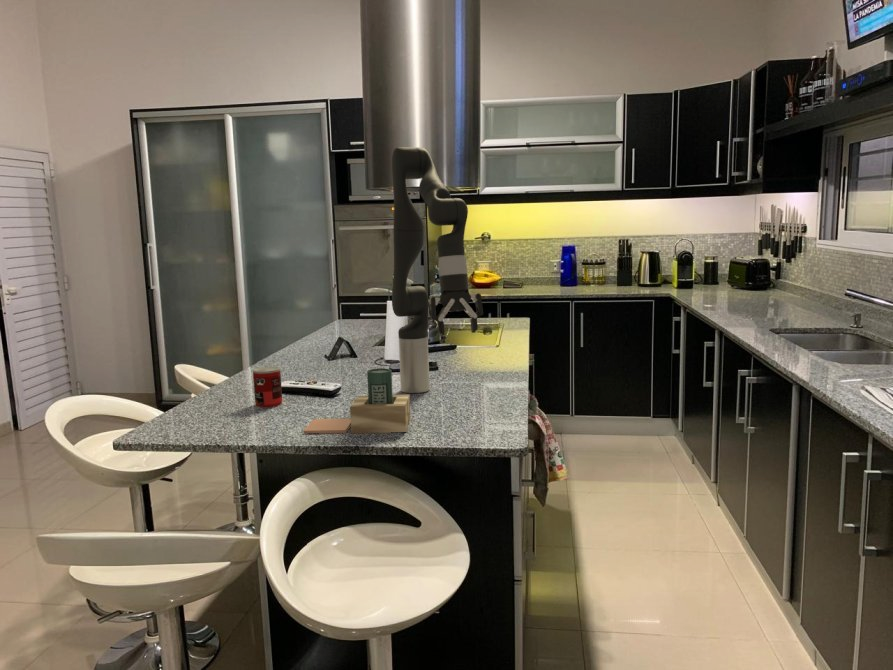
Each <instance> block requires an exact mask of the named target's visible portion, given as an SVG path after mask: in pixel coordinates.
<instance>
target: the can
mask: <svg viewBox="0 0 893 670" xmlns="http://www.w3.org/2000/svg"><path fill="white" fill-rule="evenodd" d="M366 374H367V375H366V377H367V395H368V399H369V404H393V395H394V394H393V373H392V369H390V368H385V367H384V368H383V367H381V368H380V367H379V368H372V369H369V370H367V372H366Z"/></svg>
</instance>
